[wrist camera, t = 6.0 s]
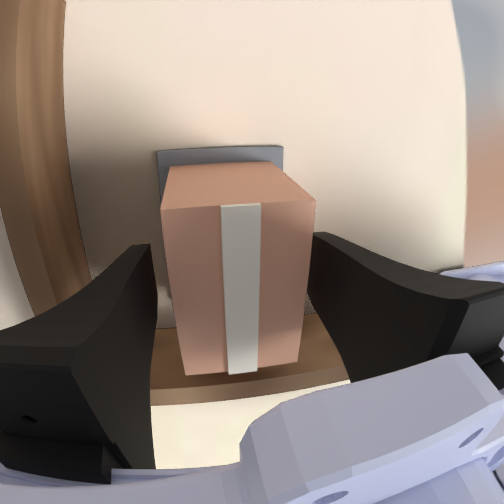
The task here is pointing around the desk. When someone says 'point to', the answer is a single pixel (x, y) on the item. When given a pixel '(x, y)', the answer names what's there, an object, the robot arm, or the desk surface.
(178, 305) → the block
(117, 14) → the desk surface
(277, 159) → the pad
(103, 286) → the robot arm
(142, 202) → the desk surface
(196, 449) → the desk surface
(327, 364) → the l-shaped wooden frame
